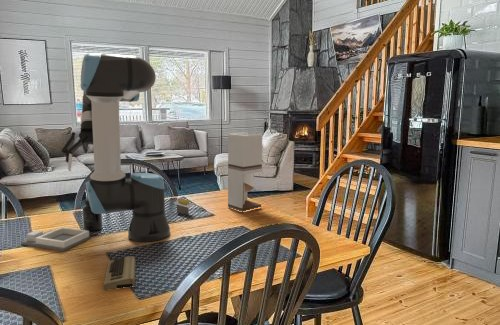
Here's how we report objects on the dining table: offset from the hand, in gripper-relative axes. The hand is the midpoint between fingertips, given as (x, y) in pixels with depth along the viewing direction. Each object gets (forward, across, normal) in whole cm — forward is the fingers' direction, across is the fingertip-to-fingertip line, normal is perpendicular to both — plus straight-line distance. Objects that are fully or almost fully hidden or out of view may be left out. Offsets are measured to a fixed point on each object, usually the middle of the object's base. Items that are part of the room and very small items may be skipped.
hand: (87, 169), depth 156 cm
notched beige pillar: (+14, -68, -13) cm, 71 cm away
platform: (+16, -40, -12) cm, 45 cm away
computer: (+48, -15, +35) cm, 61 cm away
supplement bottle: (+24, -3, -3) cm, 24 cm away
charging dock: (+30, +8, +6) cm, 32 cm away
